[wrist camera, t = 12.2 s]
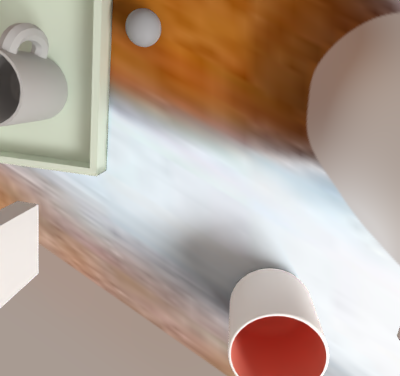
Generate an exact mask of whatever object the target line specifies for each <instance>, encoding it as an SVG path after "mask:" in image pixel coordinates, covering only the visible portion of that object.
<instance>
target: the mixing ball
mask: <svg viewBox="0 0 400 376" xmlns="http://www.w3.org/2000/svg"><path fill="white" fill-rule="evenodd" d="M126 33H127V35H128V37H129V39H130V40H131V41H132V42H133V43H134V44H136V45H138V46H141V47H148V46H151V45H153V44H154V43H156V42H157V40H158V39H159V37H160V34H161V23H160V20H159V18H158V17H157V15H156V14H155V13H154V12H152V11H151V10H149V9H146V8H139V9H136V10H134V11H132V12H131V13H130V14H129V16H128V18H127V20H126Z"/></svg>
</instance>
